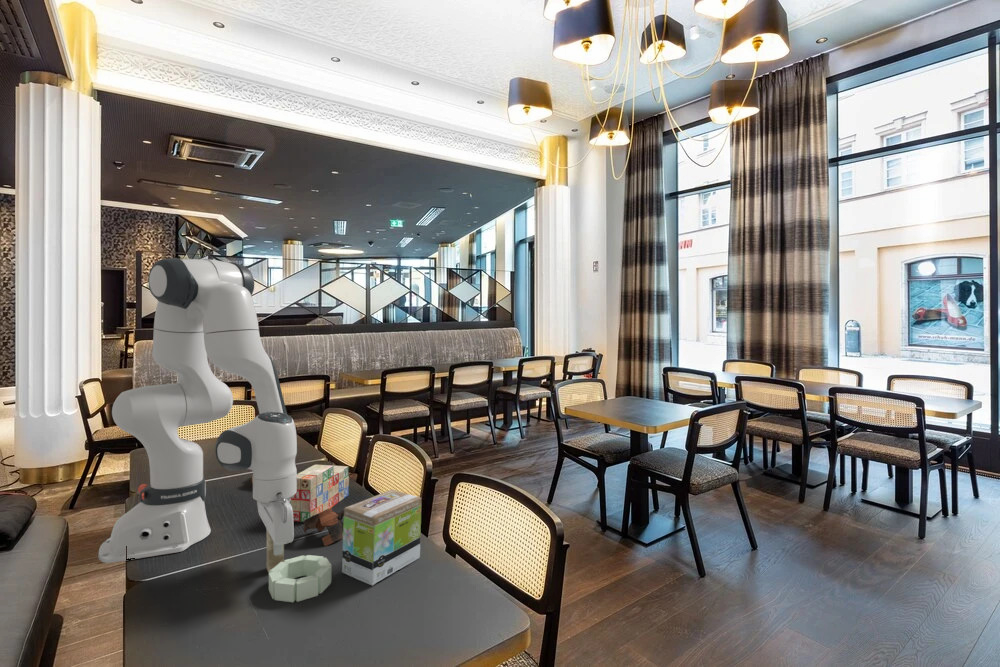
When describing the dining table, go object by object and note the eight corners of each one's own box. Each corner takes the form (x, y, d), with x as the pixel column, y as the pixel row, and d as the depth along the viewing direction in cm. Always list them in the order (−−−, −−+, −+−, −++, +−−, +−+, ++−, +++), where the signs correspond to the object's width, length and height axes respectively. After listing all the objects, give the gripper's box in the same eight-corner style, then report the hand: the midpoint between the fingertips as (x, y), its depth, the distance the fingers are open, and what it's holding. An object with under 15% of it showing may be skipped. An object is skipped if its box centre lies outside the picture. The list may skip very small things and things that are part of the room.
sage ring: (276, 608, 93) (276, 590, 93) (265, 581, 103) (265, 565, 102) (336, 589, 100) (336, 572, 100) (321, 566, 109) (321, 550, 109)
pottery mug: (313, 553, 116) (301, 520, 118) (309, 555, 124) (297, 524, 125) (361, 528, 123) (349, 498, 125) (354, 531, 131) (342, 502, 132)
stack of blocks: (330, 493, 154) (331, 455, 154) (349, 495, 153) (349, 456, 153) (289, 521, 133) (289, 477, 133) (310, 523, 132) (310, 478, 132)
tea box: (373, 587, 101) (374, 517, 100) (341, 573, 106) (341, 507, 106) (421, 558, 114) (422, 495, 113) (390, 547, 119) (391, 487, 118)
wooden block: (269, 574, 105) (269, 528, 105) (266, 568, 108) (266, 523, 108) (283, 570, 107) (284, 525, 107) (281, 564, 110) (281, 520, 109)
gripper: (301, 498, 100) (301, 564, 101) (280, 472, 117) (280, 528, 117) (268, 505, 97) (268, 573, 97) (251, 476, 113) (251, 535, 114)
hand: (275, 548), depth 107 cm, fingers open, 4 cm apart
